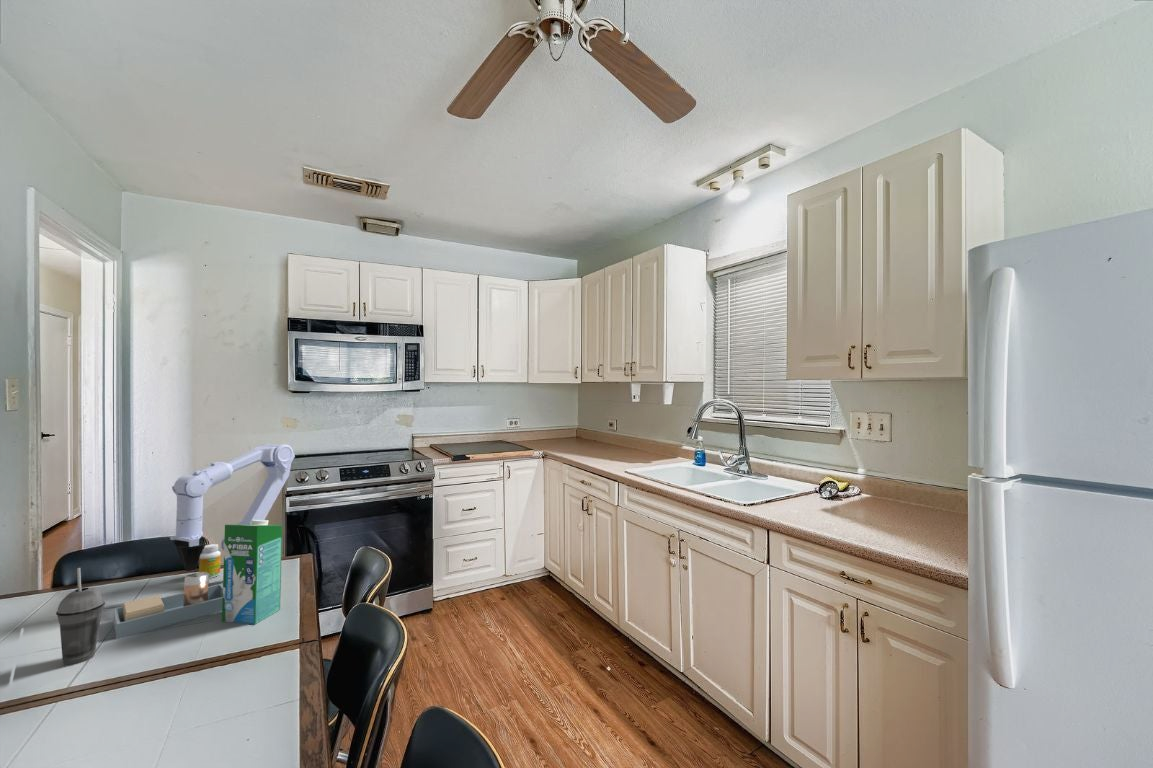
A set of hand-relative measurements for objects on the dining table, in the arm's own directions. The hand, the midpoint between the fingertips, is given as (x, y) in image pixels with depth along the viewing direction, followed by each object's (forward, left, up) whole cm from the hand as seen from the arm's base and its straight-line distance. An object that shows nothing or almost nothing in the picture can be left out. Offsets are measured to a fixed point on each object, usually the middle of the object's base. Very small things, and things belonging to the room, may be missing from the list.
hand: (188, 567), depth 130 cm
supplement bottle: (-8, -20, -10) cm, 24 cm away
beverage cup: (+21, +21, -10) cm, 31 cm away
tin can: (-1, +9, -9) cm, 13 cm away
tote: (+4, +9, -10) cm, 14 cm away
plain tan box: (+10, +9, -9) cm, 16 cm away
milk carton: (-10, +23, -10) cm, 27 cm away
